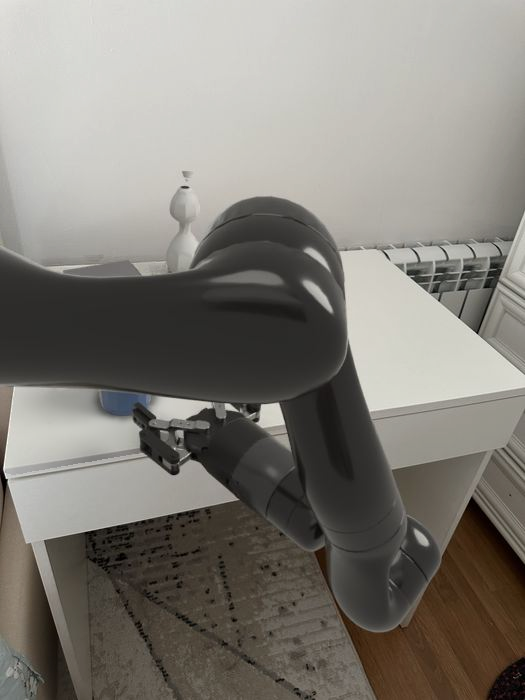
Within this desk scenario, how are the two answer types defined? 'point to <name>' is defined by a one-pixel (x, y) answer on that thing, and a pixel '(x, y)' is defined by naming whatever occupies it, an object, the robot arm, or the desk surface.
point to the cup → (121, 401)
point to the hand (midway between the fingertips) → (163, 393)
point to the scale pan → (106, 270)
